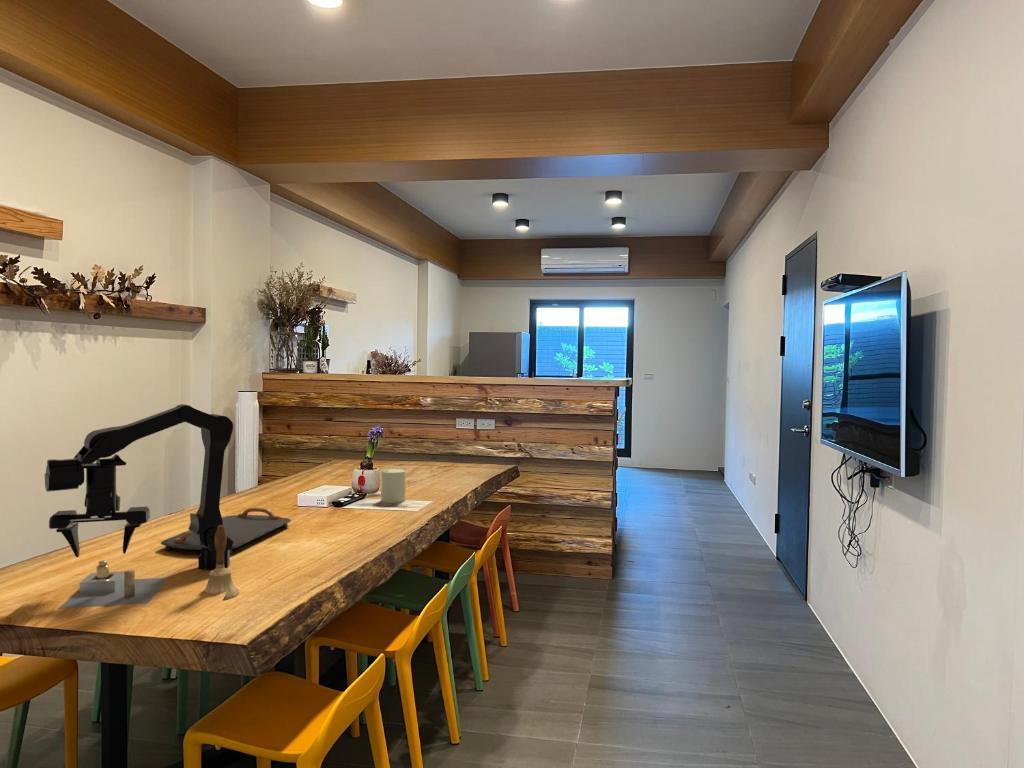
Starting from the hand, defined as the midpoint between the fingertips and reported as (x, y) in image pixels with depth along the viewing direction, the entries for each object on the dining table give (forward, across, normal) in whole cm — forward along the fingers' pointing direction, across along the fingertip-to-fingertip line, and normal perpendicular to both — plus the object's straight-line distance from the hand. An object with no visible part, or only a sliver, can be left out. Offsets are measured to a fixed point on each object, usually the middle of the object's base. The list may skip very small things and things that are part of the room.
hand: (101, 555), depth 151 cm
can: (+9, -81, -82) cm, 116 cm away
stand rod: (+7, -7, +8) cm, 13 cm away
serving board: (+10, -25, -43) cm, 51 cm away
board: (+9, -4, +4) cm, 11 cm away
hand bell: (+9, -25, +8) cm, 28 cm away
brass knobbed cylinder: (+8, 0, 0) cm, 8 cm away
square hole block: (+8, 0, 0) cm, 8 cm away
